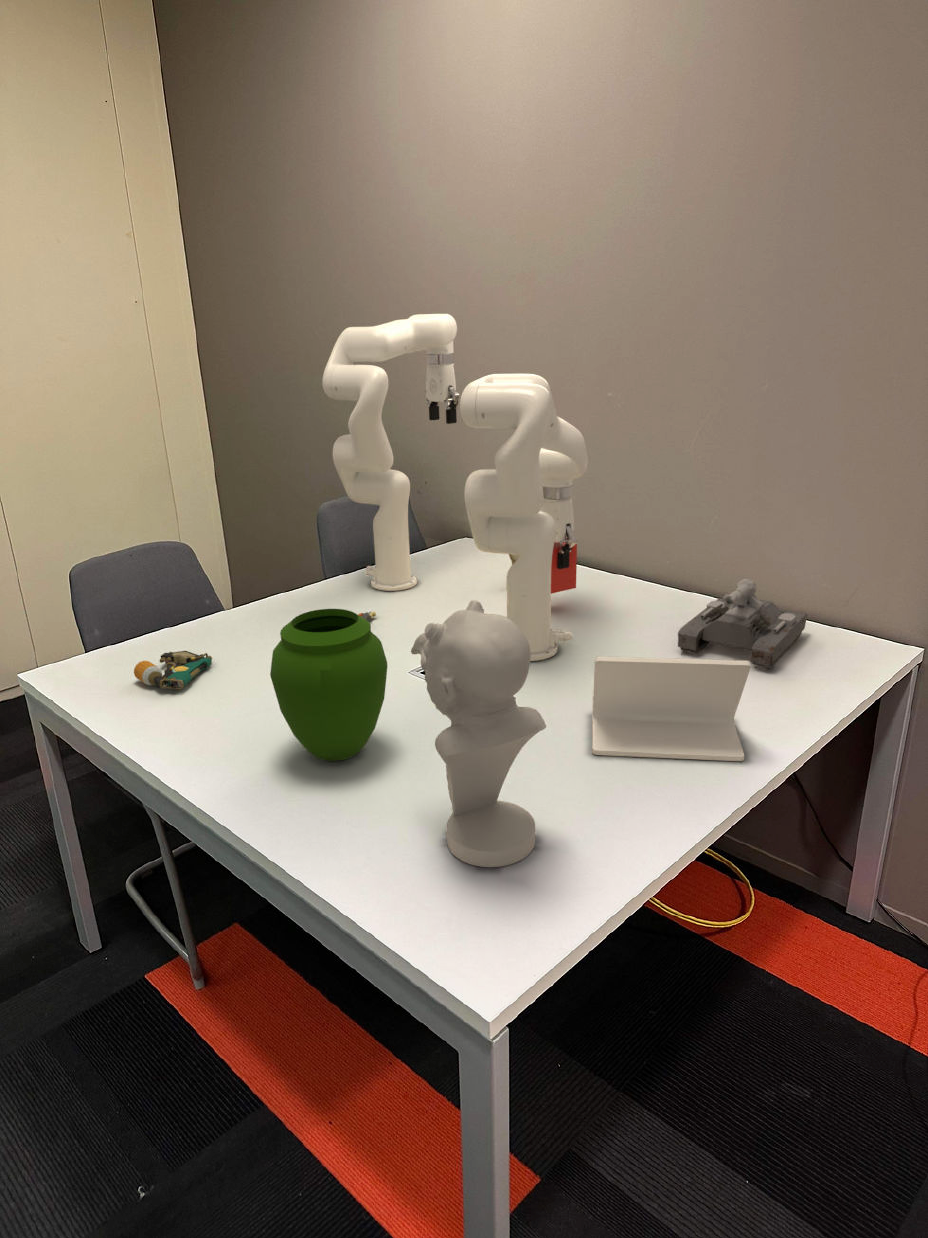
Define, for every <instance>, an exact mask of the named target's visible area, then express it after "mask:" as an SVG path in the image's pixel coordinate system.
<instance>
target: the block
mask: <svg viewBox="0 0 928 1238" xmlns="http://www.w3.org/2000/svg"><path fill="white" fill-rule="evenodd" d="M563 540H565V539H563ZM562 544H563V547H564V545H565V542H563V543H562ZM558 553H560V552H559V548H558V543H557V542H554V547H553V553H552V564H551V595H553V594H556V593H560V592H565V591H569V590H573V589H577V565H578V564H577V563H578V560H577V559H578V544H577V543H576V544H575V545H574V546H573V548H572V549H571V552H569V567H568V568H564V569H558V568H557V562H558Z"/></svg>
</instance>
